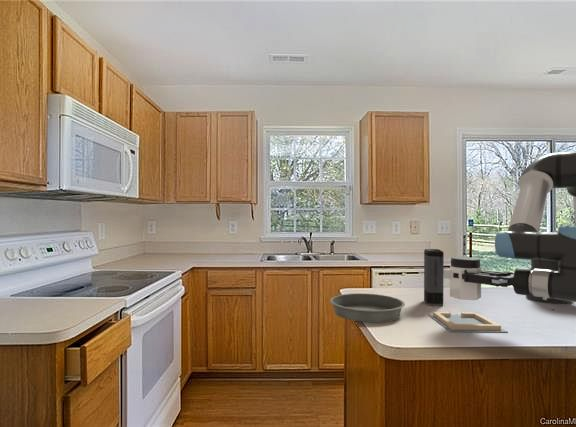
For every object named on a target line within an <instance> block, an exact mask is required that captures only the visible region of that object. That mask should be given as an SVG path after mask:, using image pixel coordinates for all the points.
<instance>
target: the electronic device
mask: <svg viewBox="0 0 576 427" xmlns="http://www.w3.org/2000/svg"><path fill="white" fill-rule="evenodd" d="M423 252H424V253H423V269H424V270H423V272H424V273H423V300H424V302H425V304H426V305H427V306H431V305H432V307H433V306H436V307H441V306H443V305H444V269H445V268H444V262H445V260H444V253H445V252H444V251H443V250H441V249H437V248H425V249H424V251H423Z"/></svg>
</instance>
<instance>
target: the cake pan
mask: <svg viewBox="0 0 576 427" xmlns="http://www.w3.org/2000/svg"><path fill="white" fill-rule="evenodd" d="M329 301H330V303H331V304H332V306H333V310H334V313H335V315H336V316H337V317H340V318H341V319H346V320H348V321H354V322H355V321H356V322H363V323H384V322H385V321H386V322H391V320H392V321H395V320H397V319H399V318H400V315H401V312H402V308H405V305H406V303H405V301H403V300H401V299H399V298H397V297H393V296H390V295H383V294H377V293H376V294H375V293H345V294H339V295H336V296H333V297H331V298H330V300H329Z"/></svg>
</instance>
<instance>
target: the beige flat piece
mask: <svg viewBox="0 0 576 427" xmlns="http://www.w3.org/2000/svg"><path fill="white" fill-rule="evenodd" d="M428 316H429V317H430V318H431V319H432V320H434V321H435V322H436V323H438V324H439V325H440V326H442V327H443V328H444V329H446V330H449V331H448V332H450V333H496V334H497V333H498V334H499V333H505V334H506V333H509V332H508V331H507V330H506V329H504V328H502V325H500V324H499V323H497V322H495V321H493V320H492V319H489V318H487V317H485V316H484V315H482V314H480V313H478V312H473V311H472V312H469V311H468V312H466V311H465V312H463V311H462V312H460V314H451V312H450V311H448V312H447V311H444V312H443V311H433V314H428Z"/></svg>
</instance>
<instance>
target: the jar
mask: <svg viewBox="0 0 576 427" xmlns="http://www.w3.org/2000/svg"><path fill="white" fill-rule="evenodd" d="M449 270H453V273H458V274H459V275H458V277H459V278H453V279H449V297H451V298H453V299H458V300H461V301H462V300H463V301H464V300H465V301H479V299H481V298H482V284H478V283H471V282H464V279H462V274H464V270H467V272H468V273H481V270H482V267H481V259H480V258H478V257H468V256H467V257H466V256H452V257H450V266H449Z"/></svg>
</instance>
